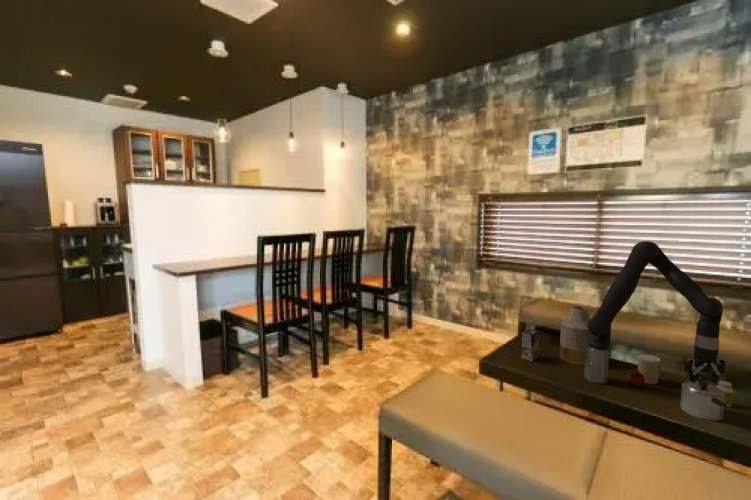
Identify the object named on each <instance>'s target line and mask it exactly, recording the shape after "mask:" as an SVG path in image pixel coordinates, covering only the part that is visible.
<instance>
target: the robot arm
mask: <svg viewBox="0 0 751 500" xmlns="http://www.w3.org/2000/svg"><path fill="white" fill-rule="evenodd" d="M626 259H627V260H626V262H625V263H624V266H623V267H622V269H621V270H620V271H619V272H618V274H617V275H616V277H615V278H614V280H613V281H612V283H611V284H610V286H609V288H608V290H607V292H606V293H605V296H604V297H603V299H602V302H601V304H600V307H598V310H596V312H595V313H594V315H593V316H592V317H590V320H589V322H588V330H589V332H590V333H589V339H588V349H587V359H585V366H584V375H583V376H584V378H585V379H586V380H587V381H589V382H591V383H595V384H596V383H597V384H608V383H607V382H608V376H609V375H608V374H609V373H608V372H609V359H610V358H609V357H610V356H609V355H610V345H611V336H612V334H611V333H612V323H613V321H614V319H615V317H616V316H617V315H618V313H619V312H620V311H621V310H622V309H623V308H624V307H625V305H626V304H628V302H629V300H630V299H631V297H632V296H633V294H634V292H635V291H636V289H637V287H638V283H639V280H640V277H641V274H642V273H643V271H644V270H645V269H646V267H648V265H649V264H650V265H651V266H653V267H654V268H655V269H656V270H658V272H660V273H661V275H662V276H663V277H664V278H665V280H667V282H668V283H669V284H670V286H672V288H673V289H675V290H676V291H677V292H678V293H679V294H681V296H683V297H684V298H685V299H686V300H687V302H688V303H689V304H690V305H691V306H692V308H693V309H694V310H695V311H696V312H697V313H699V319H698V321H697V323H696V331H695V336H694V342H693V343H694V345H693V355H694V357H693V358H690V357H685V361H684V367H683V368H684V369H683V370H684V371H685V372H686V373H688V381H691V382H692V383H696V381H697V375H698V372H702V370H703V371H705V370H708V371H711V375H710V381H711V382H712V383H714V384H715V385H716V384H718V383H719V378H720V375H722V374H723V375H725V373H726V360H725V359H723V358H720V357H719V350H720V330H721V327H720V325H721V322H722V317H723V313H724V304H723V303H722V301H720V300H719V299H718V298H715V297H709V296H708V295H707V294H706V293H705V292H704V290H703V288H702V287H701V286H700V285H699V284H698V283H697V282H696V281H694V280H693V279H692V278H691V277H690V276H689V275H687V274H686V273H685V272H684V271H683V270H682V269H681V268H679V267H678V266H677V265H676V264H675V263H673V262H672V260H670V259H669V257H668V256H667V255H666V254H665V253H664V252H663V250H662V249H661V248H660V247H659V245H658V244H657V243H656V242H654V241H646V240H643V241H639V242H637V243H635V245H634V246H633V247H632V249H631V251H630V253H629V255H628V258H626Z"/></svg>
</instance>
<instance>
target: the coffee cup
mask: <svg viewBox="0 0 751 500" xmlns="http://www.w3.org/2000/svg"><path fill="white" fill-rule="evenodd" d="M661 360H662V359H660V358H659V357H657V356H655V355H652V354H651V355H650V354H642V353H641V354H638V356H637V370H639V371H640V373H641V374H643V376H644V378H645V382H644V384H648V385H649V384H650V385H656V384H658V381H659V378H660V370H661V365H662V361H661Z"/></svg>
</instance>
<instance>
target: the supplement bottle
mask: <svg viewBox="0 0 751 500" xmlns="http://www.w3.org/2000/svg"><path fill="white" fill-rule="evenodd" d="M716 387H717V388H719V389H720V390H722V392H723V393H724V395H725V400H724V403H726V406H725V407H726V408H727V407H729V408H730V407H732V406H733V401H734V389H733V388H732V383H731V382H729V381H725V380H718V385H716Z"/></svg>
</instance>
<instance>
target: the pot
mask: <svg viewBox="0 0 751 500" xmlns="http://www.w3.org/2000/svg"><path fill="white" fill-rule="evenodd" d="M686 381H687V380H681V388H680V389H681V390H680V391H681V392H680V402H679V405H680V409H681V410H682V411H684V412H685V413H686V414H687V415H691V416H693V417H695V418H698V419H702V420H706V421H711V422H712V421H713V422H714V421H715V422H716V421H717V422H718V421H721V420H722V419H724V407H727V406H726V403H724V400H725V395H724V393H722V396H719V397H712V396H706V395H701V394H698V393H695V392H693V391H690V390H688V389H687V388H686V387H685V386H684V382H686Z"/></svg>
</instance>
